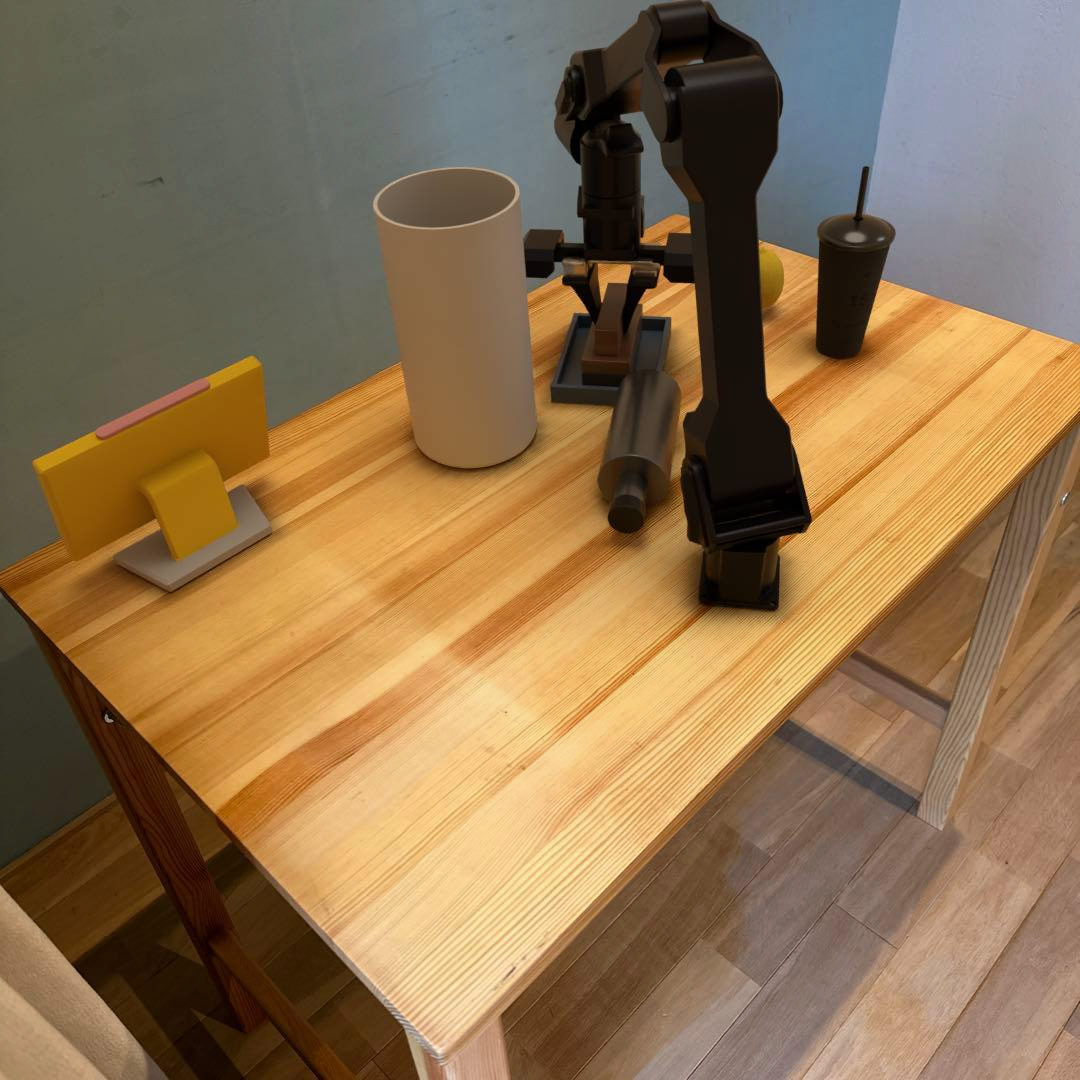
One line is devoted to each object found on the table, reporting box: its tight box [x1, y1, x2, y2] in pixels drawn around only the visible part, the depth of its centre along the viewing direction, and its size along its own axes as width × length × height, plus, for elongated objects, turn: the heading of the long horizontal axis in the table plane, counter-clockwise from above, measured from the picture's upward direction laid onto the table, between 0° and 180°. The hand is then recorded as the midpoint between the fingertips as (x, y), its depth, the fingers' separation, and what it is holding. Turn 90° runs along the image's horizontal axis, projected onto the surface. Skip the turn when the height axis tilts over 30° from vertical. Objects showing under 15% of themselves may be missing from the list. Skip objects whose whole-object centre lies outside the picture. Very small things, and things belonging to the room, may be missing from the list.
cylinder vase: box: [372, 166, 538, 469], centre depth 94 cm, size 12×12×25 cm
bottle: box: [596, 369, 683, 535], centre depth 93 cm, size 6×19×6 cm, turn 169°
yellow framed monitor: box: [31, 355, 273, 593], centre depth 87 cm, size 20×8×16 cm, turn 134°
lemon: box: [759, 246, 785, 311], centre depth 114 cm, size 6×6×8 cm
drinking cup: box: [815, 165, 897, 360], centre depth 103 cm, size 8×8×20 cm
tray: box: [549, 312, 673, 407], centre depth 109 cm, size 15×11×2 cm
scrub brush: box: [581, 282, 644, 387], centre depth 107 cm, size 12×5×6 cm, turn 169°
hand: (613, 329), depth 107 cm, fingers closed on scrub brush, 2 cm apart
